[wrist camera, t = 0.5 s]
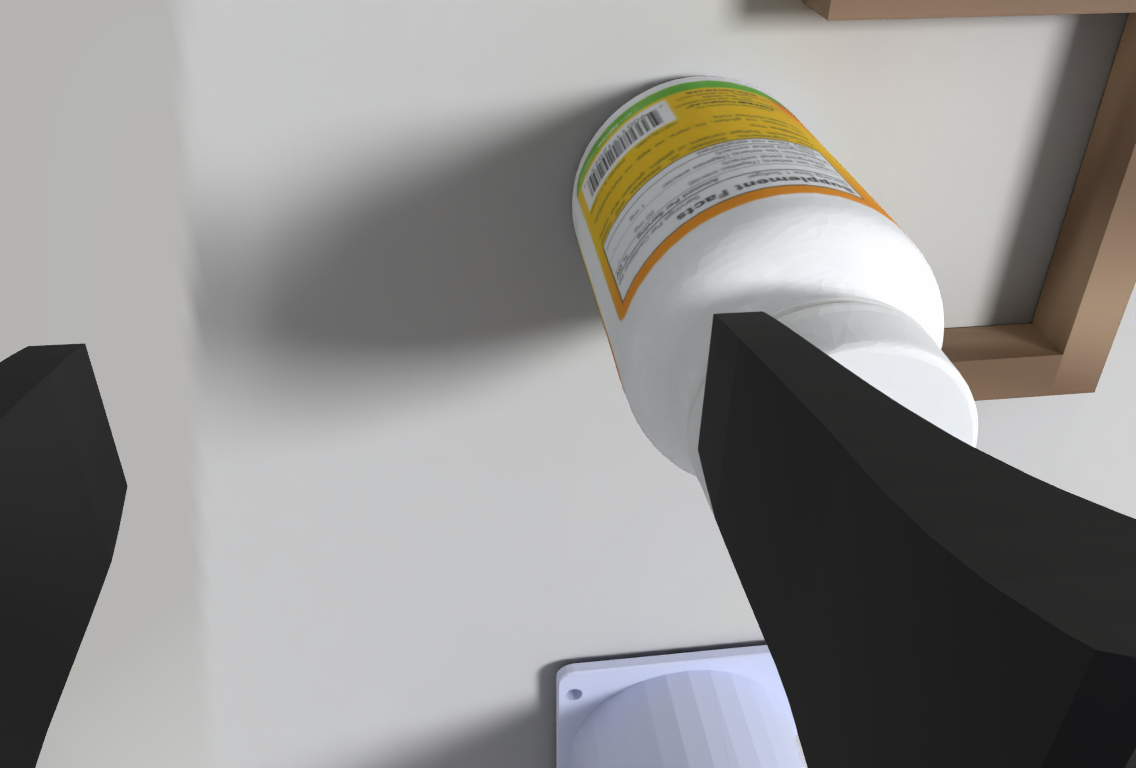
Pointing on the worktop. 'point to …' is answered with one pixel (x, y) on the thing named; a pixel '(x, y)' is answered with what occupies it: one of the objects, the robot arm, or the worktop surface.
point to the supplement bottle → (748, 257)
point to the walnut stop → (1087, 238)
